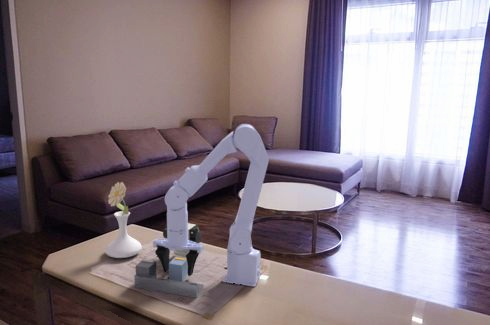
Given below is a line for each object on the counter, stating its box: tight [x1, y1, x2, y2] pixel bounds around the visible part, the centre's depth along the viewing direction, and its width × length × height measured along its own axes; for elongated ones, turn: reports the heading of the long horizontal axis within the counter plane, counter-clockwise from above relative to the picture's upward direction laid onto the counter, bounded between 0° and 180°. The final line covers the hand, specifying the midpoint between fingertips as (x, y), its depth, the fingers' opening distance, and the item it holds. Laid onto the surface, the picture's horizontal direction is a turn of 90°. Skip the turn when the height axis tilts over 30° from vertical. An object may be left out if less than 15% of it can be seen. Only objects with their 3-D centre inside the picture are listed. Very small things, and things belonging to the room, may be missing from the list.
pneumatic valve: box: [162, 222, 203, 258], centre depth 115 cm, size 6×12×12 cm, turn 70°
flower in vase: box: [104, 181, 143, 259], centre depth 114 cm, size 13×11×25 cm
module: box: [168, 256, 188, 281], centre depth 103 cm, size 4×4×5 cm
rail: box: [134, 258, 205, 298], centre depth 97 cm, size 18×5×6 cm, turn 76°
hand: (178, 272), depth 103 cm, fingers open, 7 cm apart
